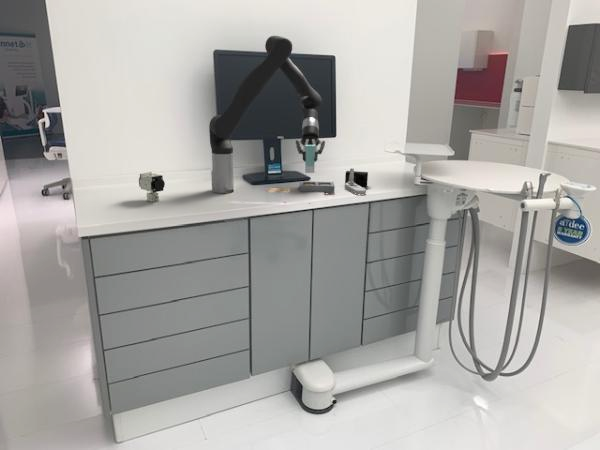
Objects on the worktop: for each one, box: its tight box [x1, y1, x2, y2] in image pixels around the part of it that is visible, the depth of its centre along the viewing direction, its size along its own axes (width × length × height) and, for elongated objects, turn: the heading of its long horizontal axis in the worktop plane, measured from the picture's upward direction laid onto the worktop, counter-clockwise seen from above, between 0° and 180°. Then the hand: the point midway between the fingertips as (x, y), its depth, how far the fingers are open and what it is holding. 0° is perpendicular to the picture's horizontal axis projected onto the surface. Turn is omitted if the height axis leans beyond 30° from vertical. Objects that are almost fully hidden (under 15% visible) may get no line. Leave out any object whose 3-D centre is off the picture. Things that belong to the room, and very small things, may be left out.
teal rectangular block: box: [304, 145, 315, 174], centre depth 214 cm, size 4×4×12 cm
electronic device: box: [344, 167, 367, 195], centre depth 219 cm, size 5×10×15 cm
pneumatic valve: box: [138, 171, 166, 203], centre depth 194 cm, size 6×12×12 cm, turn 51°
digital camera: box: [344, 170, 369, 187], centre depth 229 cm, size 10×5×7 cm, turn 77°
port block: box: [299, 180, 336, 194], centre depth 218 cm, size 16×9×4 cm, turn 89°
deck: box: [266, 187, 291, 194], centre depth 215 cm, size 10×8×1 cm
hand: (310, 160), depth 212 cm, fingers closed on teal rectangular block, 4 cm apart
